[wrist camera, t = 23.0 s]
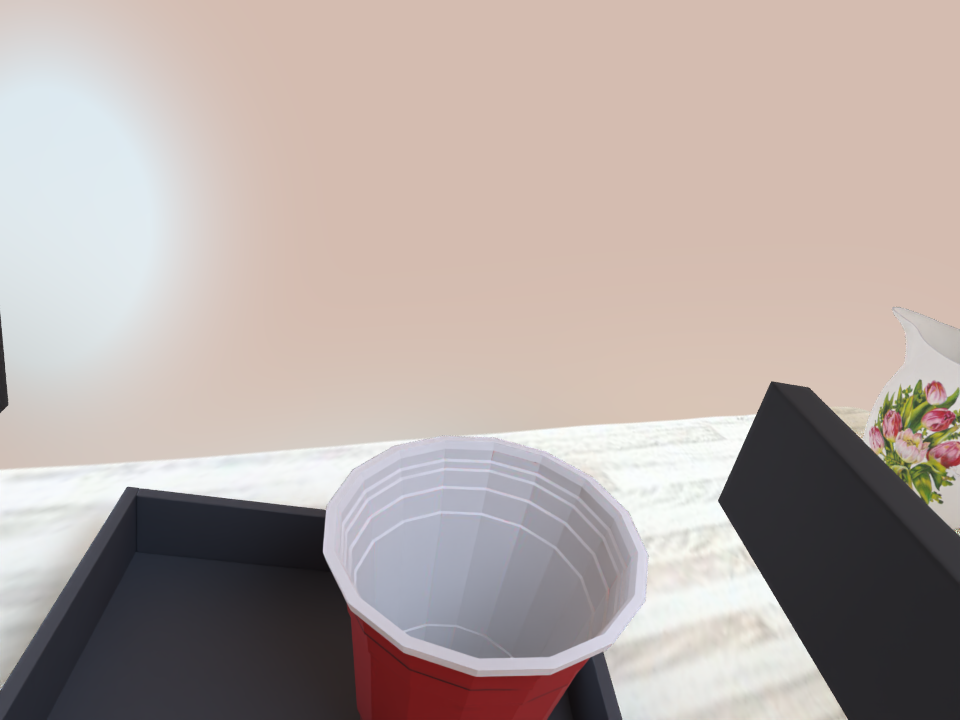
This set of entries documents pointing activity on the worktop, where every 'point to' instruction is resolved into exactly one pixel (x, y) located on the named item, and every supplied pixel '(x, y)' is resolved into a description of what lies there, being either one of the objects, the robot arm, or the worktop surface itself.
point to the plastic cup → (478, 578)
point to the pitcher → (923, 415)
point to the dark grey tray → (211, 623)
